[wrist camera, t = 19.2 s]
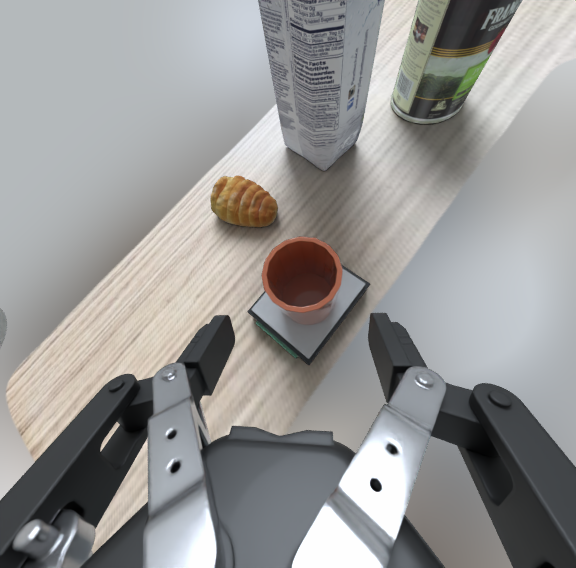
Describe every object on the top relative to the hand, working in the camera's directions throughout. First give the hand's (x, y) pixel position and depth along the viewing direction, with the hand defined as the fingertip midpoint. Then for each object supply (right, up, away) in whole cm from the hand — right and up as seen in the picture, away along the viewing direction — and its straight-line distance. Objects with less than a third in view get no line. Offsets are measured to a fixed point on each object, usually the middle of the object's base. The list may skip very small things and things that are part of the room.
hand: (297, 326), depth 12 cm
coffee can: (+21, +31, +21) cm, 42 cm away
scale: (+2, 0, +14) cm, 14 cm away
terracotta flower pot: (+2, +1, +11) cm, 12 cm away
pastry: (-7, +14, +20) cm, 25 cm away
